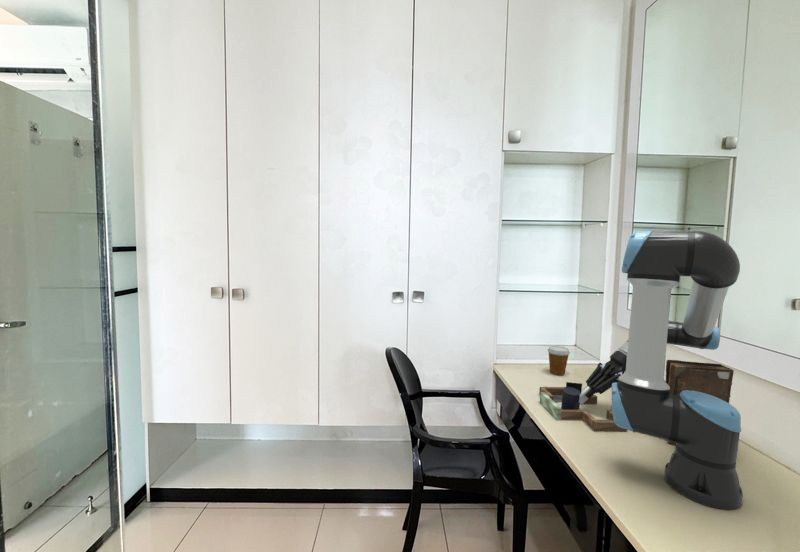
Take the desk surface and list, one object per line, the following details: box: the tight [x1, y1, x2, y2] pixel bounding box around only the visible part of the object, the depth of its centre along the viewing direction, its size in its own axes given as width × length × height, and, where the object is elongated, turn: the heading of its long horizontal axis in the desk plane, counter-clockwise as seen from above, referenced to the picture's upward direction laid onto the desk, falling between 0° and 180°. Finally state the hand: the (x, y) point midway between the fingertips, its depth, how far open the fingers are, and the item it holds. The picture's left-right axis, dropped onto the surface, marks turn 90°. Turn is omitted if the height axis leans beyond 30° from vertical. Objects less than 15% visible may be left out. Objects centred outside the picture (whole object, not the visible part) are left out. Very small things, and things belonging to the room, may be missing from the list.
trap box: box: [538, 386, 628, 432], centre depth 133 cm, size 29×22×4 cm
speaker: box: [560, 381, 583, 410], centre depth 132 cm, size 8×6×10 cm
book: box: [664, 359, 735, 445], centre depth 112 cm, size 17×7×25 cm, turn 75°
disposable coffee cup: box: [547, 345, 571, 377], centre depth 171 cm, size 10×10×12 cm
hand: (578, 401), depth 133 cm, fingers closed
